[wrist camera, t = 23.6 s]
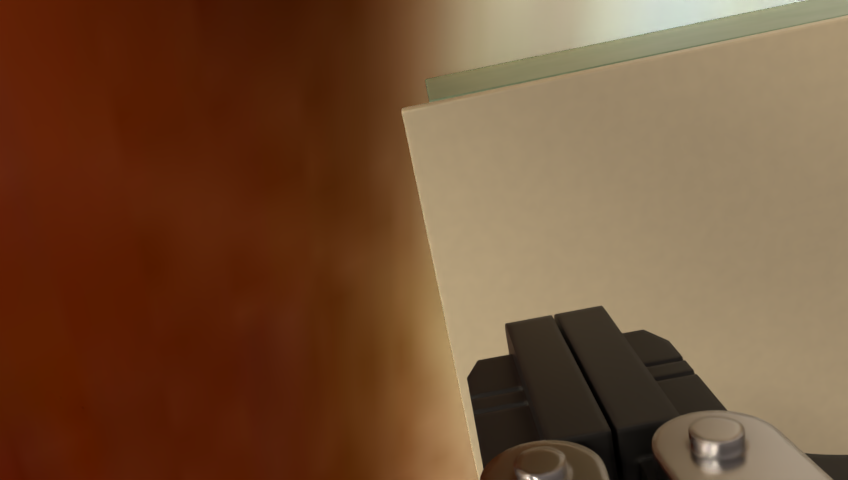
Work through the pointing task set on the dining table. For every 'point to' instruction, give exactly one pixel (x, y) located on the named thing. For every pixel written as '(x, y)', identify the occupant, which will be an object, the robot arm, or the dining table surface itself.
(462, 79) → the chest
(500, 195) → the chest lid
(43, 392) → the dining table surface
